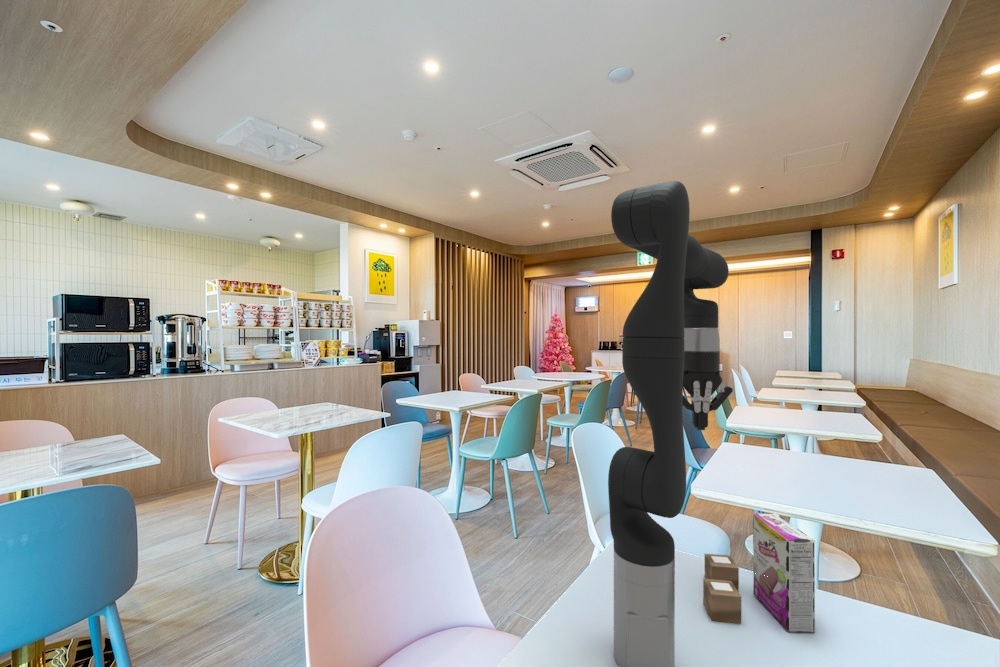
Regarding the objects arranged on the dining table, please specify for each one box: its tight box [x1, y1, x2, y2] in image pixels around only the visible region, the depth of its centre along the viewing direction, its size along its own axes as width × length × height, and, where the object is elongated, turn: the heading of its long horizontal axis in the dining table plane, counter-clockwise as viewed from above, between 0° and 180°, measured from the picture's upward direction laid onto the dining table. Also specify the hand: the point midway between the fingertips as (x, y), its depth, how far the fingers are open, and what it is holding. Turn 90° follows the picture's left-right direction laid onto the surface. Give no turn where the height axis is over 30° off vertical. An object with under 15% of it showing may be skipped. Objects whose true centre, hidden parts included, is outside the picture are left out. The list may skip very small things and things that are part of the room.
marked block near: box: [702, 578, 742, 625], centre depth 81 cm, size 5×5×5 cm
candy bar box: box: [752, 512, 816, 634], centre depth 81 cm, size 11×5×16 cm, turn 179°
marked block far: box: [704, 553, 740, 593], centre depth 90 cm, size 5×5×5 cm
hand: (700, 429), depth 94 cm, fingers closed
